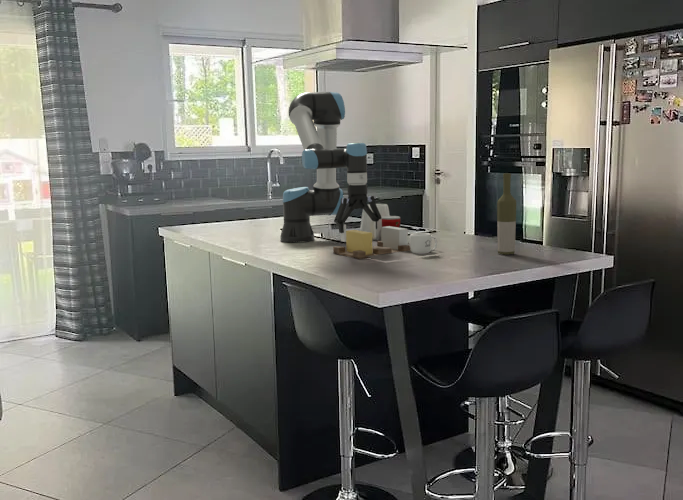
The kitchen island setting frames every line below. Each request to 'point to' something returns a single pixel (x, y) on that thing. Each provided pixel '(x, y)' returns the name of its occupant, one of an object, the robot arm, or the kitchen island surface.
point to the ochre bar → (358, 241)
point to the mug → (421, 243)
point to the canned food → (391, 221)
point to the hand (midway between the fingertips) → (358, 239)
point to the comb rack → (375, 251)
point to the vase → (366, 220)
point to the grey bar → (394, 237)
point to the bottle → (506, 219)
